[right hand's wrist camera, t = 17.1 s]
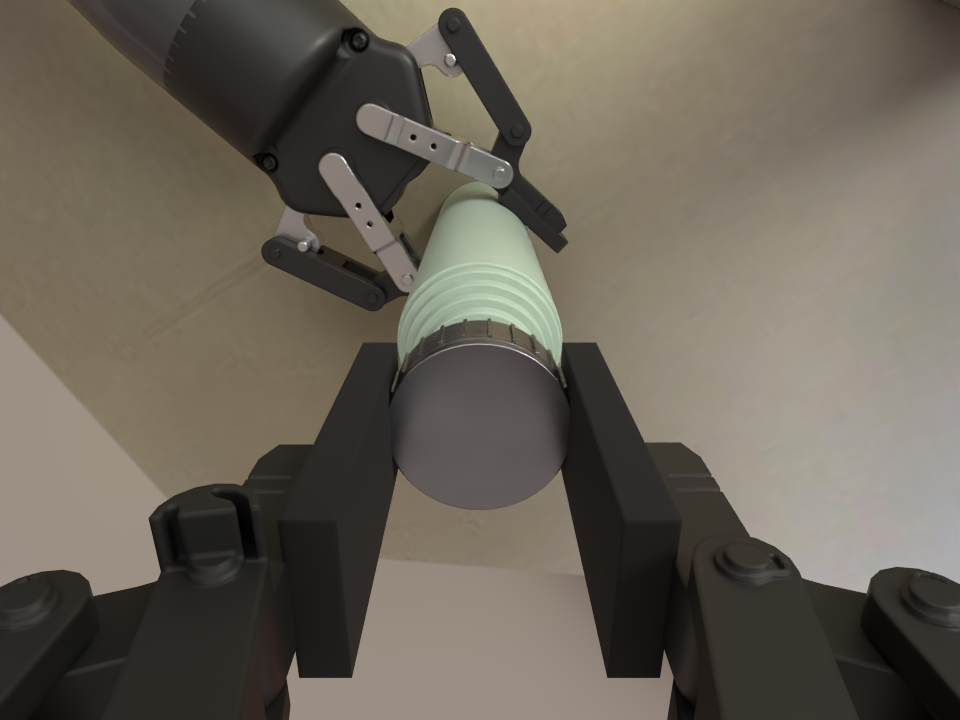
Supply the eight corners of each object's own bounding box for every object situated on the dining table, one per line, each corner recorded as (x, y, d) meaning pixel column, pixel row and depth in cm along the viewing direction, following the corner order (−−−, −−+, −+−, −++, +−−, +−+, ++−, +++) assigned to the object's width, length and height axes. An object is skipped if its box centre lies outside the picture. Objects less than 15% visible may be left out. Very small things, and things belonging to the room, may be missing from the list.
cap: (399, 476, 15) (390, 513, 14) (386, 319, 14) (375, 343, 12) (564, 473, 15) (572, 510, 14) (568, 315, 14) (579, 338, 12)
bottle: (534, 245, 36) (617, 464, 14) (459, 277, 37) (429, 534, 15) (501, 167, 35) (539, 277, 13) (424, 202, 35) (332, 365, 13)
